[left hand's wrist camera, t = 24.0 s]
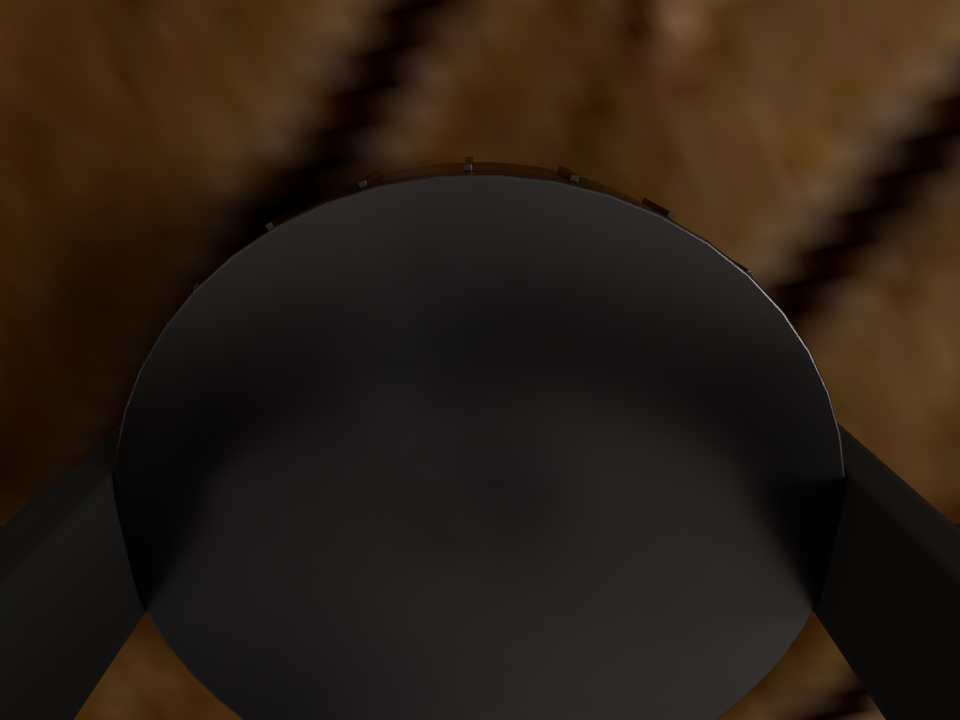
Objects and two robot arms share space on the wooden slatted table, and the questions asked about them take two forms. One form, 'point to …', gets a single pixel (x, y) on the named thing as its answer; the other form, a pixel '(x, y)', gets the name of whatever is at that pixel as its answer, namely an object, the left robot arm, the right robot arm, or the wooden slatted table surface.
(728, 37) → the wooden slatted table surface
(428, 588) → the lid
